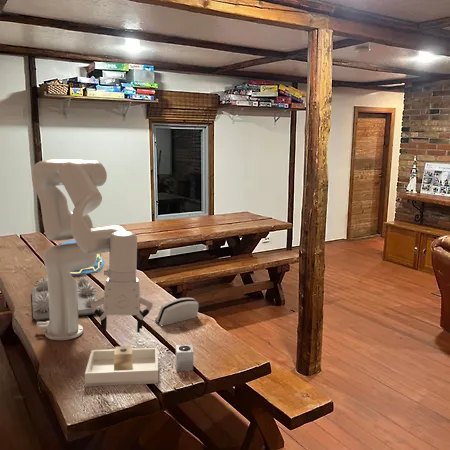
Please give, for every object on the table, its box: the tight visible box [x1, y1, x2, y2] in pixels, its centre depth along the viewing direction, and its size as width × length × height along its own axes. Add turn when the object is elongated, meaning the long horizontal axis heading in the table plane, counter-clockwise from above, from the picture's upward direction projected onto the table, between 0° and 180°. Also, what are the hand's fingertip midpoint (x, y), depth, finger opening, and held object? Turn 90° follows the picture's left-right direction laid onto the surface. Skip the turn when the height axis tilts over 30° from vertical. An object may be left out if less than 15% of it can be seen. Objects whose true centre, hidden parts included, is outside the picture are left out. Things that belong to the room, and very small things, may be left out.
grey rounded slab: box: [154, 297, 200, 326], centre depth 173 cm, size 17×5×10 cm, turn 128°
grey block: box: [175, 344, 194, 372], centre depth 138 cm, size 5×5×6 cm
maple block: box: [114, 345, 134, 371], centre depth 133 cm, size 5×5×6 cm
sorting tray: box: [84, 347, 159, 388], centre depth 134 cm, size 20×14×4 cm
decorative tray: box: [31, 276, 104, 322], centre depth 186 cm, size 35×26×10 cm
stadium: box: [58, 239, 105, 276], centre depth 239 cm, size 35×24×14 cm
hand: (121, 330), depth 132 cm, fingers open, 9 cm apart
